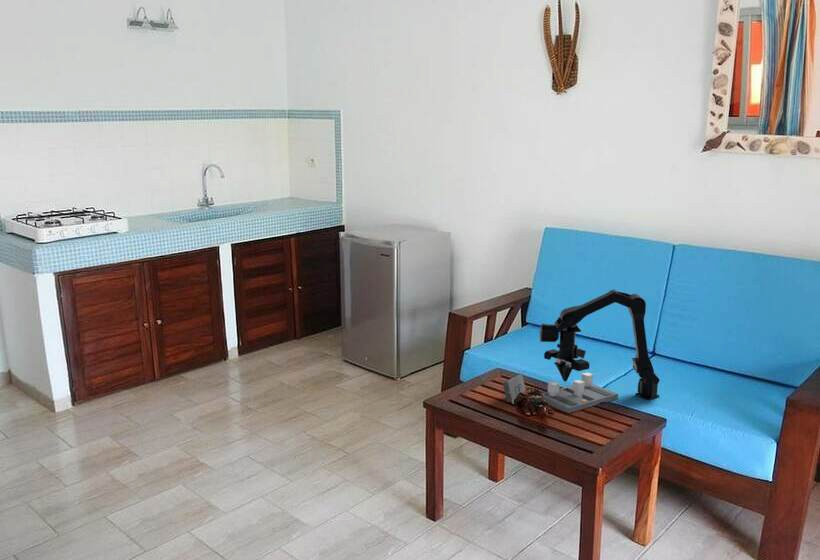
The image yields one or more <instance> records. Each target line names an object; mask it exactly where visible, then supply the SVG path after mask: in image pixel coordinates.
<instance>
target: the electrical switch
mask: <svg viewBox="0 0 820 560" xmlns="http://www.w3.org/2000/svg"><path fill="white" fill-rule="evenodd" d="M502 386H503V391H504V395H505V400H506V403H507V402H510V403H509V404H512V405H513V404H514V399H515V397H516V396H517V395H518V394H519V393H520V392H522V391H524V390H526V387H525V386H526V385H525V382H524V376H523V375H522V374H518V375H516V376H513V377H510V378H509V379H507V380H504V381H503V382H502Z"/></svg>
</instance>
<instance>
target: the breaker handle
mask: <svg viewBox="0 0 820 560" xmlns="http://www.w3.org/2000/svg"><path fill="white" fill-rule="evenodd" d="M584 384H585V382H583V381H582V379H576V380H573V381H572V385H573V390H574V395H576V396H579V397H581V398H582V391H584Z"/></svg>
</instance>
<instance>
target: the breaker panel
mask: <svg viewBox="0 0 820 560" xmlns="http://www.w3.org/2000/svg"><path fill="white" fill-rule="evenodd" d="M581 381H583V382H585V384H584V391H582V398H581V397H579V396H576V395H574V390H573V384H571V385H568V386H565V387H561V388H560V383H559V382H558V381H553V380H552V381H549V382H547V392H543V393H541V394H542V395H543V398H544V399H545V401H546V402H547V403H548V404H547V405H549V406H551V407H553V408H555V409H558V410H560V411H561V412H564V413H566V412H567V413H566V414H568V413H569V414H572V413H571V412H573V413H575V411H576V412H579V411H582V409H583V410H585V408H586V409H589V408H592V406H593V407H596V406H598V405H597V404H599V403H600V402H606V403H609V402H612V401H616V400H619V394H618V393H616V392H614V391H611V390H610V389H606V388H604V387H601V386H599V385H596V384H594V374H593V373H590V372H588V371H587V372H584V373H581ZM595 405H596V406H595ZM599 405H600V404H599ZM588 407H589V408H588ZM578 410H579V411H578Z"/></svg>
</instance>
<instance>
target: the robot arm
mask: <svg viewBox="0 0 820 560" xmlns="http://www.w3.org/2000/svg"><path fill="white" fill-rule="evenodd" d="M615 303H616V304H619V305H621V306H623V307H626V308H627V309H628V312H629V315H630V317H631V321H632V330H633V336H634V337H633V338H634V347H635V357H632V358H631V361H632V369H633V370H634V372H635V373H636V374H637V375H638V376H639V379H638V383H637V392H636V393H635V396H638V397H640V398H643V399H645V400H649V401H650V400H652V399H657V398H659V397H660V394H658V385H659V383H660V381H661V379H660V378H659V377H658V376H657V374H656V373H655V369H654V367H653V364H652V361H651V358H650V356H649V351H648V345H647V344H648V343H647V336H646V327H645V316H646V309H647V304H646V303H647V302H646V301H645V299H644V298H643V297H641V295H639V294H638V293H632V294H630V293H627V292H621V291H618V290H617V289H612V290H609V291H608V292H606V293H604V294H602V295H600V296H598V297H595V298H594V299H591V300H589V301H586V302H585V303H582V304H580V305H575V306H570V307H567V308H564V309H562V310H561V311H560V314H559V317H558V318H557V319H556V320H555V322H554V323H553V324H549V323H548V324H547V323H540V329H539V341H540V343H556V342H557V341H558V340H559V343H557V344H556V347H557V348H558V349H555V348H554V349H549V350H546V351H545V352H544V354H543V359H545V360H547V361H550V360H551V359H552V358H553V359H555V362H554V365H555V366H556V368H557V370H558V372H559V374H560V376H561V379H562V380H563V382H567V381H568V380H569V377H570V375H571V373H572V371H573V370H574V371H576V372H582V371H586V370H589V369H590V362H589V361H587V360H585V355H586V352H587V350H584V349H582V348H578V345H577V344H576V334H577V333H581V332H582V330H581V328H580V327H579V326H578V324H579V323H580V322H581V321H582V320H583V319H584V318H586V317H587V316H589V315H591V314H594V313H595V312H597V311H599V310H601V309H604V308H606V307H608V306H610V305H612V304H615Z"/></svg>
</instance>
